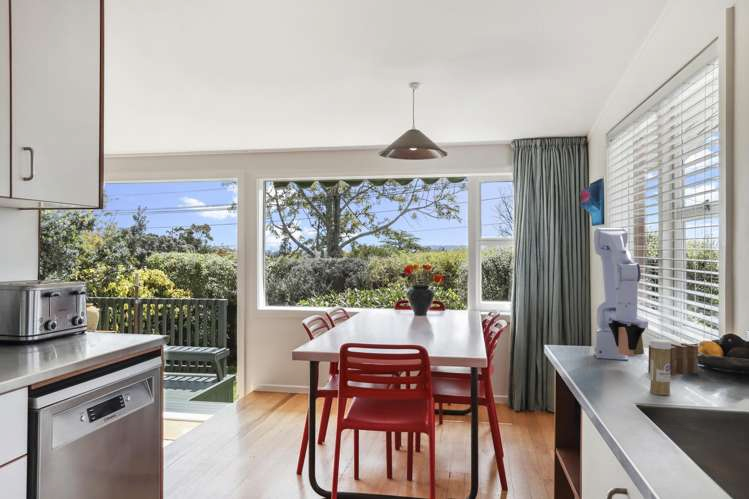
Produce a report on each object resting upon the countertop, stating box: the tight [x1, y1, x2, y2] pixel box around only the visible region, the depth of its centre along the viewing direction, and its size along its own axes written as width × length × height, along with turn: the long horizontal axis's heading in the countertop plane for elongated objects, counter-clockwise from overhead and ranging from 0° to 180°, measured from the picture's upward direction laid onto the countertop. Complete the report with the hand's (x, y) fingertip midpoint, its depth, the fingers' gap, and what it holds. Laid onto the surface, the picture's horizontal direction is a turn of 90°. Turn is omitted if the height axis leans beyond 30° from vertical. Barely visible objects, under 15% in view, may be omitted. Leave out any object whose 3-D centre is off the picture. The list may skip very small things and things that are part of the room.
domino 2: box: [647, 344, 651, 373], centre depth 146 cm, size 2×4×8 cm, turn 16°
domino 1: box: [618, 327, 635, 357], centre depth 152 cm, size 2×4×8 cm, turn 16°
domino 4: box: [671, 343, 688, 375], centre depth 149 cm, size 2×4×8 cm, turn 16°
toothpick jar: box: [649, 338, 672, 396], centre depth 127 cm, size 5×5×14 cm
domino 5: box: [680, 342, 699, 374], centre depth 150 cm, size 2×4×8 cm, turn 16°
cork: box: [634, 334, 645, 355], centre depth 176 cm, size 6×6×11 cm
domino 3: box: [670, 346, 677, 376], centre depth 147 cm, size 2×4×8 cm, turn 16°
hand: (625, 347), depth 152 cm, fingers closed on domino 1, 4 cm apart
